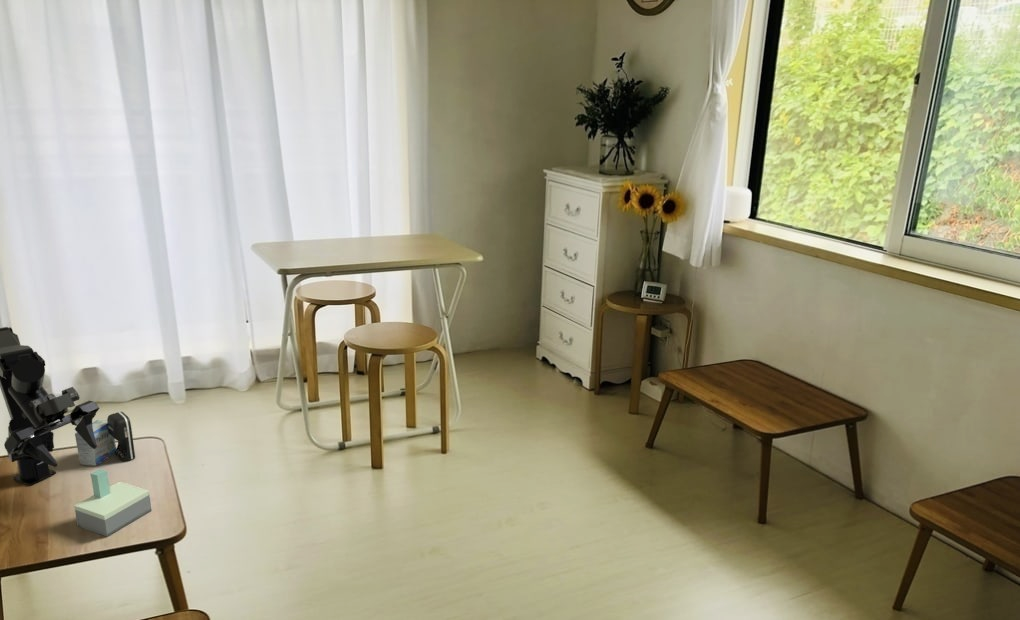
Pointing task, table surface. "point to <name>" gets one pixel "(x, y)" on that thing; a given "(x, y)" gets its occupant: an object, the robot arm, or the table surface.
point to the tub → (114, 518)
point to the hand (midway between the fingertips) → (76, 456)
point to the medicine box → (103, 442)
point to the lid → (109, 496)
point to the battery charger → (121, 435)
